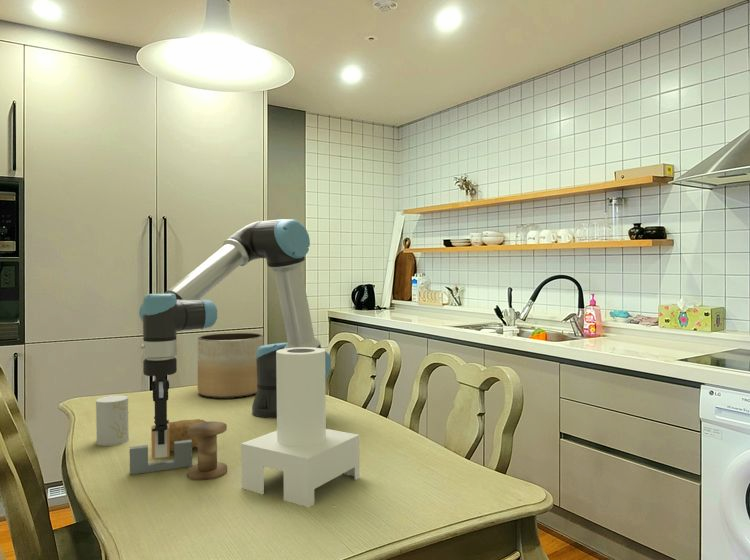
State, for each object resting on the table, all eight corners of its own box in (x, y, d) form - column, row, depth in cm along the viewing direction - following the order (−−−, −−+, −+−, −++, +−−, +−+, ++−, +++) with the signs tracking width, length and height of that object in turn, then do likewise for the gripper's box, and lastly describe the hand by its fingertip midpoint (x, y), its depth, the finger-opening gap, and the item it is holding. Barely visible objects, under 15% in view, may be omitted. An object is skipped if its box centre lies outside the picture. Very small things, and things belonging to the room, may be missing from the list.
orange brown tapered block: (168, 452, 137) (168, 424, 137) (169, 456, 134) (169, 427, 134) (151, 454, 136) (151, 425, 135) (151, 458, 132) (151, 429, 132)
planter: (185, 398, 208) (184, 339, 208) (215, 384, 233) (215, 332, 233) (249, 401, 204) (249, 340, 203) (273, 386, 229) (273, 332, 228)
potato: (216, 449, 149) (215, 419, 149) (161, 460, 141) (161, 428, 141) (204, 440, 157) (203, 412, 157) (151, 450, 149) (151, 420, 149)
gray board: (191, 463, 138) (191, 439, 138) (192, 466, 137) (191, 441, 137) (130, 471, 133) (129, 446, 133) (129, 474, 131) (129, 449, 131)
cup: (116, 446, 152) (115, 402, 152) (90, 444, 154) (89, 401, 154) (134, 437, 160) (134, 396, 160) (109, 436, 162) (109, 395, 162)
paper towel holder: (308, 507, 113) (307, 360, 112) (241, 488, 123) (240, 353, 122) (359, 477, 129) (358, 348, 128) (296, 463, 139) (295, 343, 138)
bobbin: (224, 463, 138) (223, 419, 138) (229, 476, 130) (229, 429, 130) (186, 469, 135) (185, 423, 134) (189, 482, 126) (188, 434, 126)
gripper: (143, 353, 141) (144, 446, 141) (143, 364, 125) (144, 467, 126) (174, 352, 143) (175, 442, 144) (178, 361, 128) (179, 463, 128)
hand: (160, 454), depth 135 cm, fingers closed on orange brown tapered block, 4 cm apart
